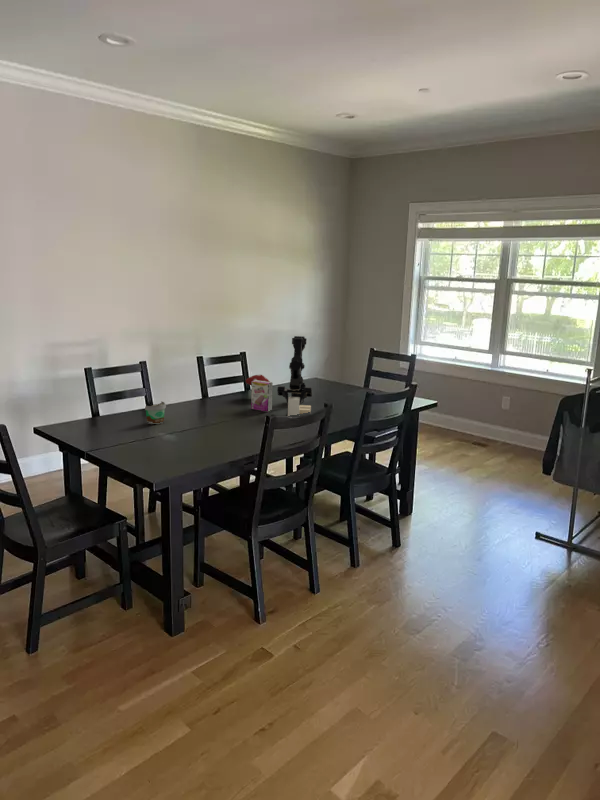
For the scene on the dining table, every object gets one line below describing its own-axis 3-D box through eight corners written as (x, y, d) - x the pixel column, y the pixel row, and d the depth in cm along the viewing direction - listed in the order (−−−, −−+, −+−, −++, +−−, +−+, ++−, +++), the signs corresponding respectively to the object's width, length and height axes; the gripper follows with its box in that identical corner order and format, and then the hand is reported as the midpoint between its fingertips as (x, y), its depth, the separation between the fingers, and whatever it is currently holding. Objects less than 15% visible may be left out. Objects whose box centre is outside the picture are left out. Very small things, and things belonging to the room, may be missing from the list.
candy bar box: (250, 409, 348) (250, 381, 344) (254, 407, 352) (255, 379, 348) (268, 412, 343) (268, 383, 339) (272, 410, 348) (272, 381, 344)
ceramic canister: (287, 417, 334) (288, 399, 332) (288, 414, 340) (289, 396, 338) (298, 417, 334) (299, 399, 332) (299, 414, 340) (300, 397, 337)
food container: (154, 427, 310) (153, 407, 307) (145, 425, 313) (144, 405, 311) (171, 421, 320) (171, 403, 318) (162, 419, 323) (162, 401, 321)
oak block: (291, 409, 352) (291, 404, 352) (310, 410, 352) (311, 405, 351) (289, 414, 342) (289, 409, 341) (309, 415, 341) (309, 410, 340)
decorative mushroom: (259, 394, 383) (259, 370, 379) (277, 399, 372) (277, 375, 369) (239, 398, 372) (239, 374, 368) (257, 403, 361) (257, 378, 358)
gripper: (278, 371, 336) (275, 396, 328) (312, 373, 335) (311, 397, 327) (279, 382, 345) (276, 407, 337) (312, 384, 344) (311, 408, 336)
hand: (293, 404), depth 334 cm, fingers closed on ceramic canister, 6 cm apart
